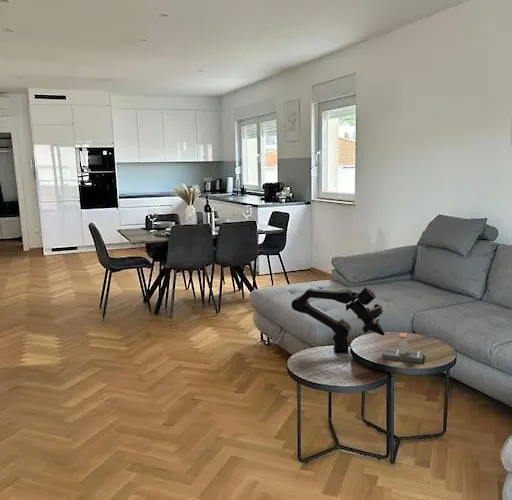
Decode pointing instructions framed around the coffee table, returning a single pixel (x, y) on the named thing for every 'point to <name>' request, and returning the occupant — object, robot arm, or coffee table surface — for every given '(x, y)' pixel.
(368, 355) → the coffee table surface
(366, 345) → the coffee table surface
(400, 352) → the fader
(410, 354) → the plate
